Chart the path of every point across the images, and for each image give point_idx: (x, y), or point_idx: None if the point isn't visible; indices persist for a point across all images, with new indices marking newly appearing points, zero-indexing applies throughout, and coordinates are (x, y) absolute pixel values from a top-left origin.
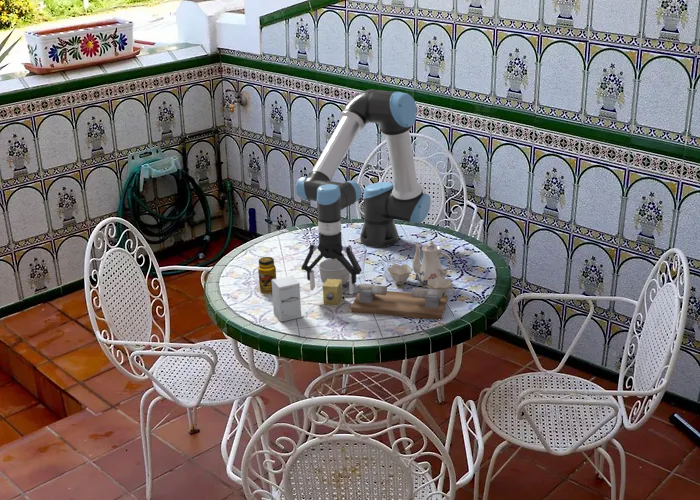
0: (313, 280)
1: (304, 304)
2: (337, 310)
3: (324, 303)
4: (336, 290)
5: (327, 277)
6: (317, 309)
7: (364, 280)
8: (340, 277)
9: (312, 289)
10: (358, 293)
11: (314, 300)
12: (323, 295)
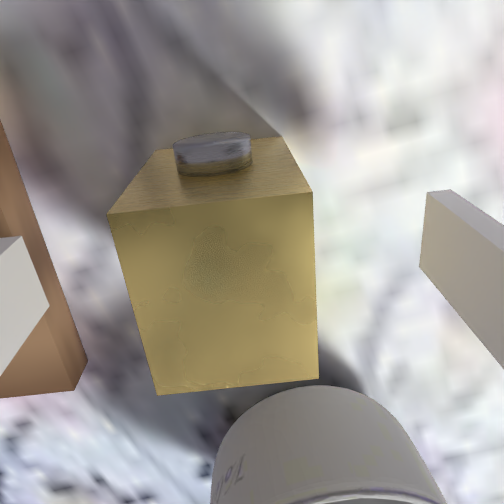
0: (471, 281)
1: (447, 89)
2: (116, 58)
3: (274, 139)
4: (129, 195)
5: (350, 433)
6: (304, 21)
7: (158, 494)
8: (246, 458)
9: (434, 196)
10: (45, 326)
11: (378, 185)
12: (290, 157)
